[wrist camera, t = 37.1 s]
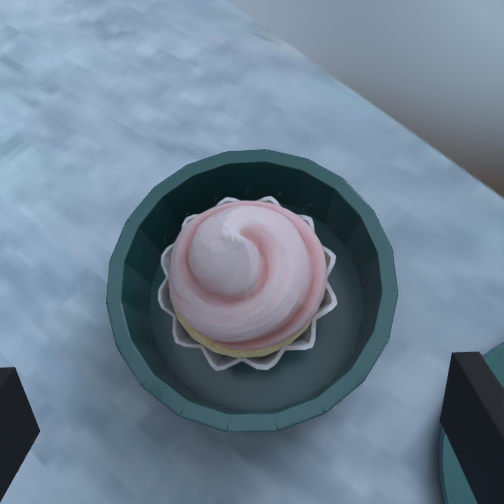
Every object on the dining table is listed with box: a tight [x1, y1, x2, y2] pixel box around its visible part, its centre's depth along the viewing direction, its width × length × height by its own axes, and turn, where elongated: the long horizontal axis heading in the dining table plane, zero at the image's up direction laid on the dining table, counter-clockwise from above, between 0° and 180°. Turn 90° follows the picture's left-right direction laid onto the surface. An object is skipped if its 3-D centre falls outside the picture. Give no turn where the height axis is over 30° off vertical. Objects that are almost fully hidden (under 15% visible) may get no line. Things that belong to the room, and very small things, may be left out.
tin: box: [106, 149, 398, 432], centre depth 25 cm, size 15×15×6 cm
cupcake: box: [158, 196, 337, 371], centre depth 22 cm, size 9×9×10 cm
